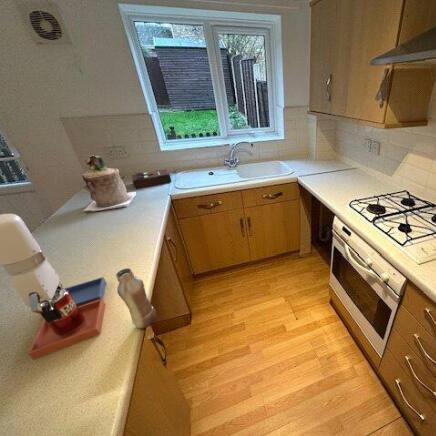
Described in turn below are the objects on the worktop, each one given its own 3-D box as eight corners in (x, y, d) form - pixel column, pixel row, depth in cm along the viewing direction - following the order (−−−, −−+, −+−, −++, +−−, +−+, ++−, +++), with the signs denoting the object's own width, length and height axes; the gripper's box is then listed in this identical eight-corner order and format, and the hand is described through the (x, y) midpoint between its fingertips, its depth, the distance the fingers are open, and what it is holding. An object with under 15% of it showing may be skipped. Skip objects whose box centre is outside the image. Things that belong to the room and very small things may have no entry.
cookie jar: (137, 193, 171) (121, 148, 156) (129, 207, 151) (109, 156, 135) (98, 198, 165) (76, 152, 149) (83, 214, 144) (56, 161, 129)
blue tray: (53, 318, 77) (49, 312, 76) (62, 295, 86) (58, 290, 84) (102, 301, 83) (99, 296, 81) (106, 281, 91) (103, 276, 90)
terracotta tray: (33, 359, 65) (27, 353, 64) (47, 323, 75) (43, 318, 74) (100, 334, 71) (96, 328, 70) (105, 304, 82) (102, 298, 80)
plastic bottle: (133, 334, 71) (106, 284, 61) (136, 317, 76) (112, 268, 67) (157, 326, 73) (135, 277, 63) (158, 310, 79) (138, 262, 69)
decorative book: (172, 173, 186) (128, 181, 173) (175, 182, 190) (131, 190, 176) (169, 167, 201) (128, 174, 187) (171, 176, 205) (131, 183, 191)
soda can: (49, 332, 71) (27, 303, 65) (76, 313, 77) (57, 285, 71) (65, 339, 69) (43, 310, 63) (91, 319, 74) (73, 291, 69)
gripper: (18, 248, 66) (51, 294, 74) (-13, 288, 52) (31, 339, 61) (53, 240, 69) (81, 285, 78) (32, 276, 56) (68, 326, 64)
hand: (58, 309), depth 69 cm, fingers closed on soda can, 7 cm apart
